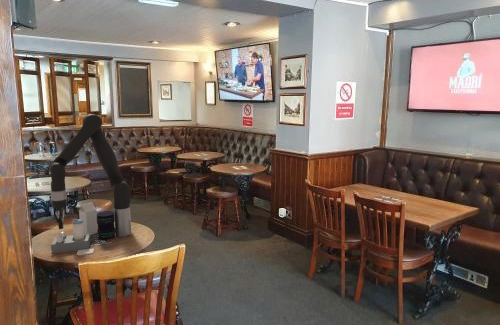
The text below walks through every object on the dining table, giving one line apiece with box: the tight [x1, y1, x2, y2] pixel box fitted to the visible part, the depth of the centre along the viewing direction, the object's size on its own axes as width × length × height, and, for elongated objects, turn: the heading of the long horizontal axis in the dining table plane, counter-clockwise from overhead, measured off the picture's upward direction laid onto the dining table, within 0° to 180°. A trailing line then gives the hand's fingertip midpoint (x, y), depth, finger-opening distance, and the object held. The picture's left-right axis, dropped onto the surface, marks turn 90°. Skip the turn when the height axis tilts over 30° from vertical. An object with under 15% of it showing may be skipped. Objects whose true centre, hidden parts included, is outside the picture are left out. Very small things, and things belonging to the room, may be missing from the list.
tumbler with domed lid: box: [71, 218, 84, 240], centre depth 201 cm, size 6×6×16 cm
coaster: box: [76, 248, 95, 256], centre depth 194 cm, size 8×6×1 cm
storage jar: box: [97, 210, 116, 242], centre depth 214 cm, size 10×10×15 cm
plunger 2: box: [56, 235, 63, 244], centre depth 195 cm, size 3×3×6 cm
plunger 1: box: [58, 231, 66, 239], centre depth 201 cm, size 3×3×6 cm
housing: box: [50, 233, 92, 254], centre depth 200 cm, size 18×12×5 cm, turn 109°
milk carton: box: [78, 201, 98, 236], centre depth 221 cm, size 7×7×19 cm
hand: (61, 228), depth 201 cm, fingers closed
